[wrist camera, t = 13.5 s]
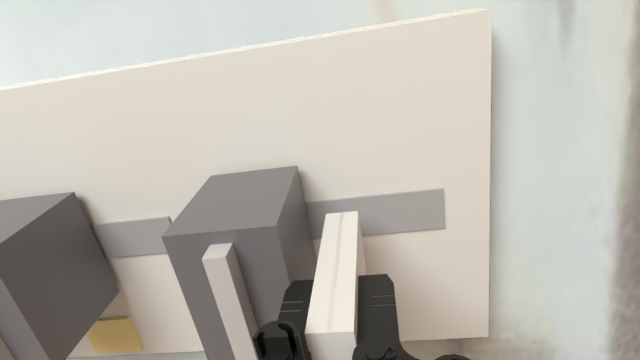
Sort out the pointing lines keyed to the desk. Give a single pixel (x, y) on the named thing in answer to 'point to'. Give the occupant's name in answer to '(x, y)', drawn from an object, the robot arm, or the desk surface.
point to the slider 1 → (49, 277)
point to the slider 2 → (240, 255)
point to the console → (277, 162)
